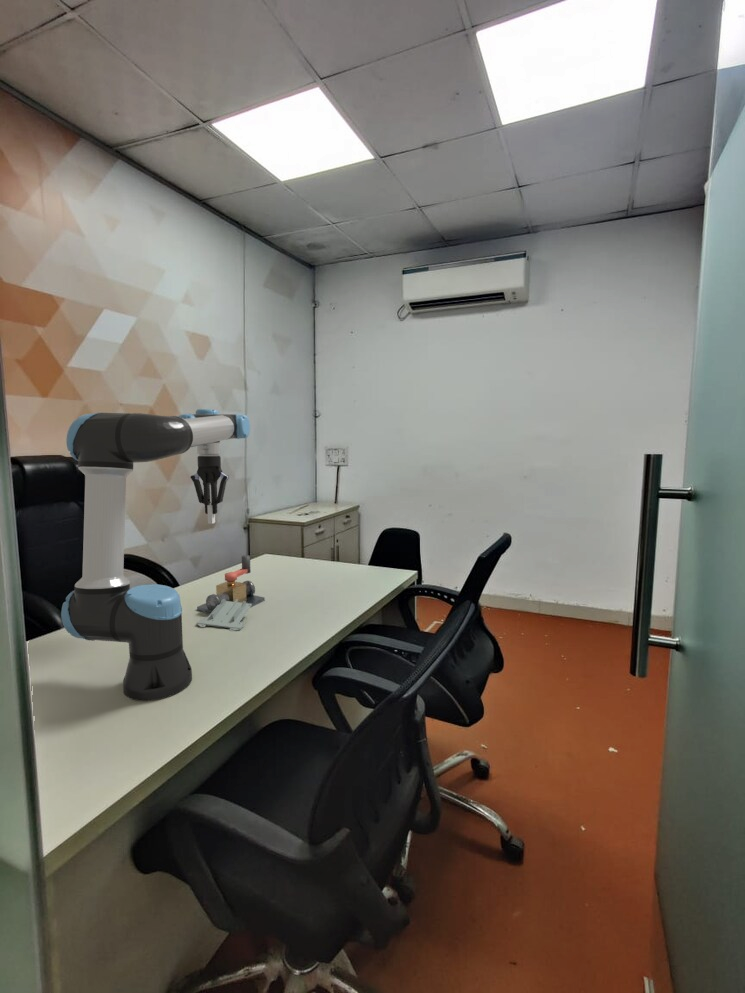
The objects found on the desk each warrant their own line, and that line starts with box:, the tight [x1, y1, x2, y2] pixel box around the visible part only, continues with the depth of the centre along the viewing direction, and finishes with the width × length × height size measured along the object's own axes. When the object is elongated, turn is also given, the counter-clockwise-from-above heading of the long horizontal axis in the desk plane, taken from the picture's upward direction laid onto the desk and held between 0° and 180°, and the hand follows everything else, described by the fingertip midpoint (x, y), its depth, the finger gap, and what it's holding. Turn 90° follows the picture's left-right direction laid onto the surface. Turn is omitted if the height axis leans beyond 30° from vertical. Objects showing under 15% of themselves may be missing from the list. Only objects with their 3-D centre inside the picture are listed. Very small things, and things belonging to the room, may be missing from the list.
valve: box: [196, 580, 266, 614], centre depth 167 cm, size 18×14×9 cm
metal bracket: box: [196, 599, 252, 632], centre depth 154 cm, size 14×6×15 cm
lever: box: [224, 554, 251, 582], centre depth 170 cm, size 12×4×6 cm, turn 160°
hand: (211, 523), depth 168 cm, fingers closed
